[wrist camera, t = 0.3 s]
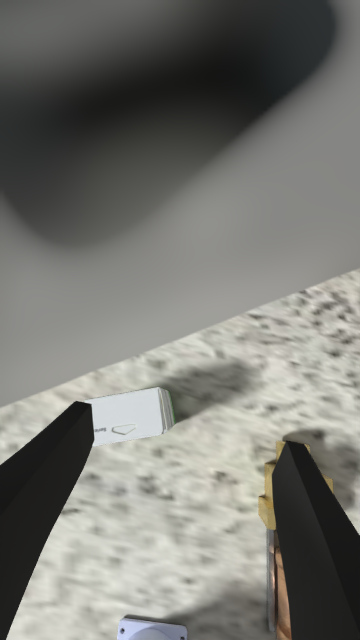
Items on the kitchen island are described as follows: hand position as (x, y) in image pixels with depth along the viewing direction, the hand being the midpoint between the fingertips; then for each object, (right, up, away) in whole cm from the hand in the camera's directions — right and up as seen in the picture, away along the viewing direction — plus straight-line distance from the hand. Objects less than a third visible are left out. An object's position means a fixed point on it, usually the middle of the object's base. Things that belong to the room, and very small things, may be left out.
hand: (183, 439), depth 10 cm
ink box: (-5, -9, +30) cm, 31 cm away
